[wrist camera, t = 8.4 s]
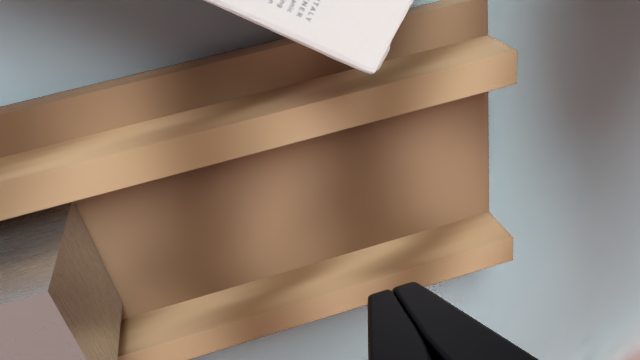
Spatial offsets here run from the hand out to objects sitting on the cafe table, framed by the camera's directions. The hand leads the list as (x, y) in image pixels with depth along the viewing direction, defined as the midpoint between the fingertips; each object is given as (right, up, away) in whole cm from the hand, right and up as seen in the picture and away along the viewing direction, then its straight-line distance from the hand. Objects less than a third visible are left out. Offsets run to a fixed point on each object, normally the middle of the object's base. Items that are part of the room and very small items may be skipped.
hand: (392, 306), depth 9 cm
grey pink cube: (-12, -1, +11) cm, 16 cm away
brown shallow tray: (-6, +1, +13) cm, 14 cm away
